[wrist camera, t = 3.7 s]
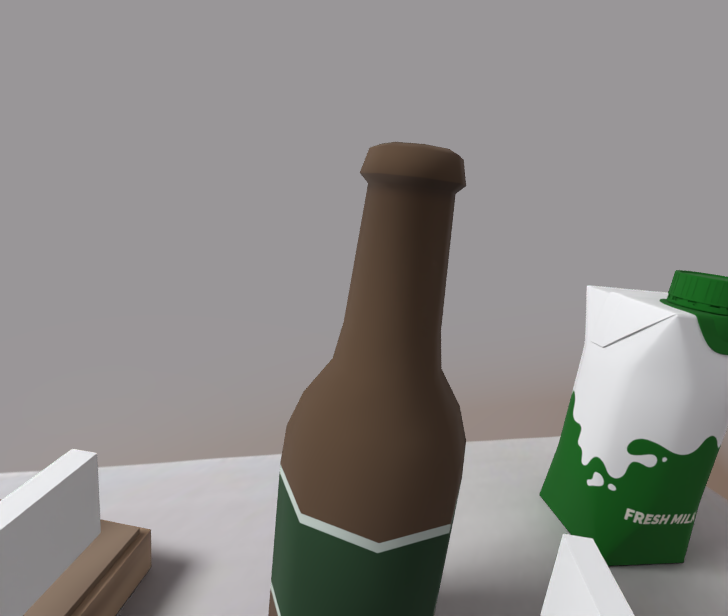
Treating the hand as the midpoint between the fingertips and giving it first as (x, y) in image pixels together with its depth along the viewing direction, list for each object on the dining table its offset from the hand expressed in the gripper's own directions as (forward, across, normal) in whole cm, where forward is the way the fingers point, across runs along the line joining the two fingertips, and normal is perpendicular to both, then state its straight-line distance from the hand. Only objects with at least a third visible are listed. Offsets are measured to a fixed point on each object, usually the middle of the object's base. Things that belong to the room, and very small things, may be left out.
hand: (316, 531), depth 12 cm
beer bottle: (+6, +1, -13) cm, 15 cm away
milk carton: (+20, +20, -13) cm, 31 cm away
